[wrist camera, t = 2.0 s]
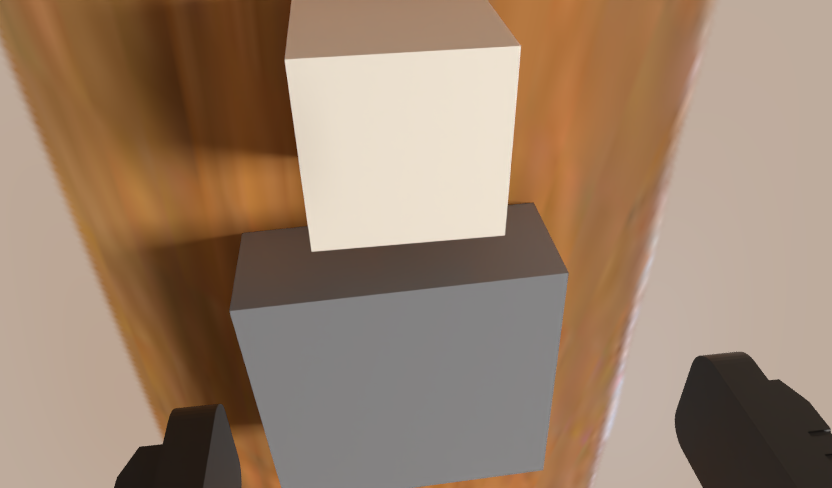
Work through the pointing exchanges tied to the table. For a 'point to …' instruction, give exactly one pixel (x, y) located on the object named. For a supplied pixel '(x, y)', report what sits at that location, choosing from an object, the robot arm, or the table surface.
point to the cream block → (402, 119)
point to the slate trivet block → (402, 354)
